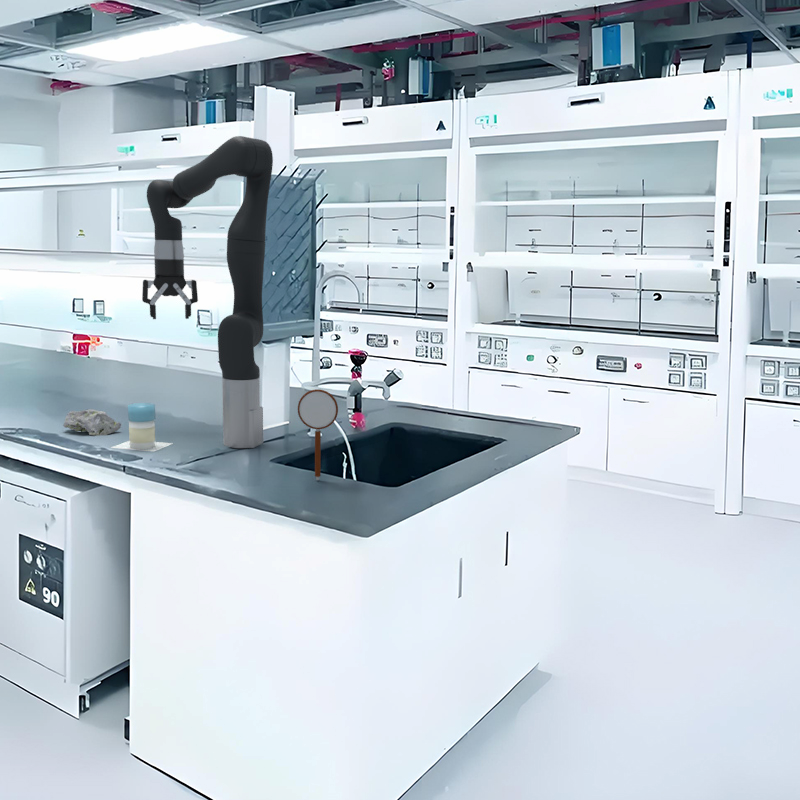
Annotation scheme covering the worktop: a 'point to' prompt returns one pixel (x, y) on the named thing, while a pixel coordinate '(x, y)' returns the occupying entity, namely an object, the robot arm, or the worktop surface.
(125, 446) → the mat
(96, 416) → the mineral specimen
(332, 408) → the magnifying glass
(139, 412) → the cap
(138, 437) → the jar
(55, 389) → the worktop surface
